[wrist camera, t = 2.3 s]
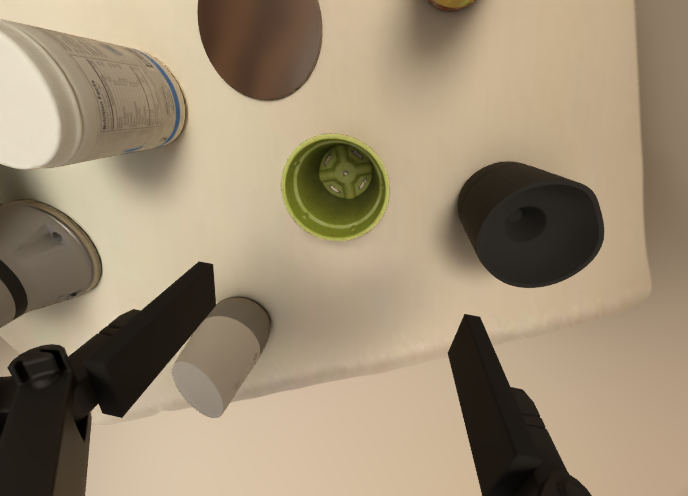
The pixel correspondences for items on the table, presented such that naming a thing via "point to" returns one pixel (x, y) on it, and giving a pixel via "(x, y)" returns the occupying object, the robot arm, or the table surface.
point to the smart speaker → (221, 355)
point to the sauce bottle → (450, 4)
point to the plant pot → (327, 205)
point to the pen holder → (530, 224)
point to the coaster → (261, 43)
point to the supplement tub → (80, 99)
